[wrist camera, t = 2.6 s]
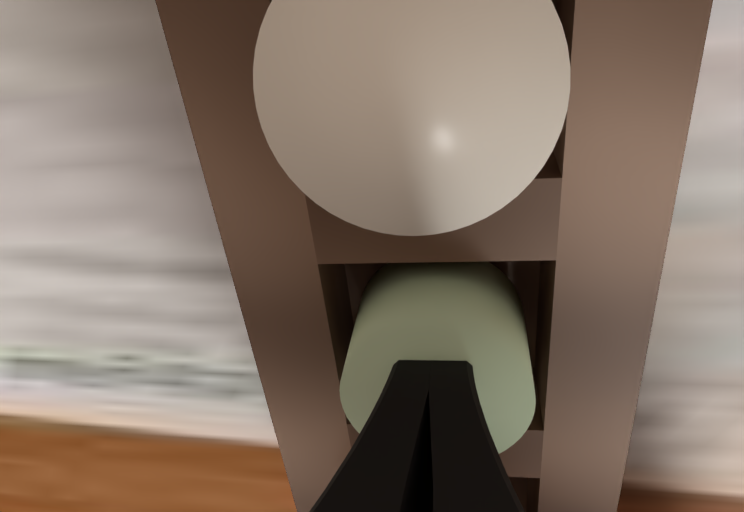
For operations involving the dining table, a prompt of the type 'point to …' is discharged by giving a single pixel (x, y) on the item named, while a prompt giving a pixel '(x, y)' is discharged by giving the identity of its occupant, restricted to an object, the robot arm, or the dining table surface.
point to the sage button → (443, 339)
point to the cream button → (411, 105)
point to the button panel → (465, 242)
